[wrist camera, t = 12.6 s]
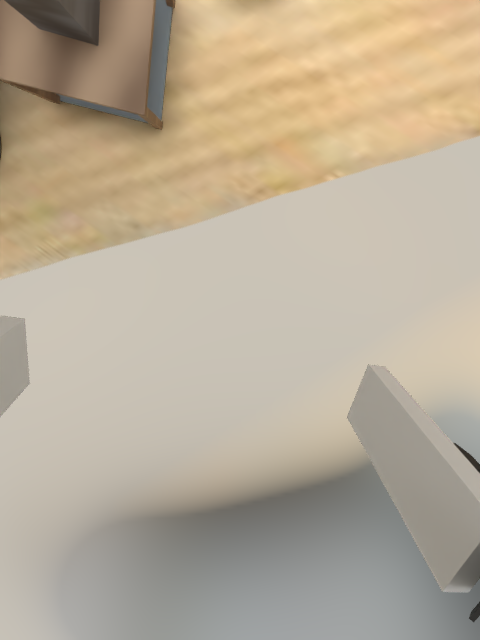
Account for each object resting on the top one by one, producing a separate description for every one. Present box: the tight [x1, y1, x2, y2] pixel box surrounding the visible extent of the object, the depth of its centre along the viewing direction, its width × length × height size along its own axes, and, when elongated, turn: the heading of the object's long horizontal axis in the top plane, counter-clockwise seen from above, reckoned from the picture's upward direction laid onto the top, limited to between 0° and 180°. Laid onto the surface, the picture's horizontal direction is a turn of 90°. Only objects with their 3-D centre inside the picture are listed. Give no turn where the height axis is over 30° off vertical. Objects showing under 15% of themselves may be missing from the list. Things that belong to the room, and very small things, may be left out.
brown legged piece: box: [0, 0, 175, 129], centre depth 27 cm, size 13×13×22 cm
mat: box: [57, 0, 173, 123], centre depth 37 cm, size 12×12×1 cm
